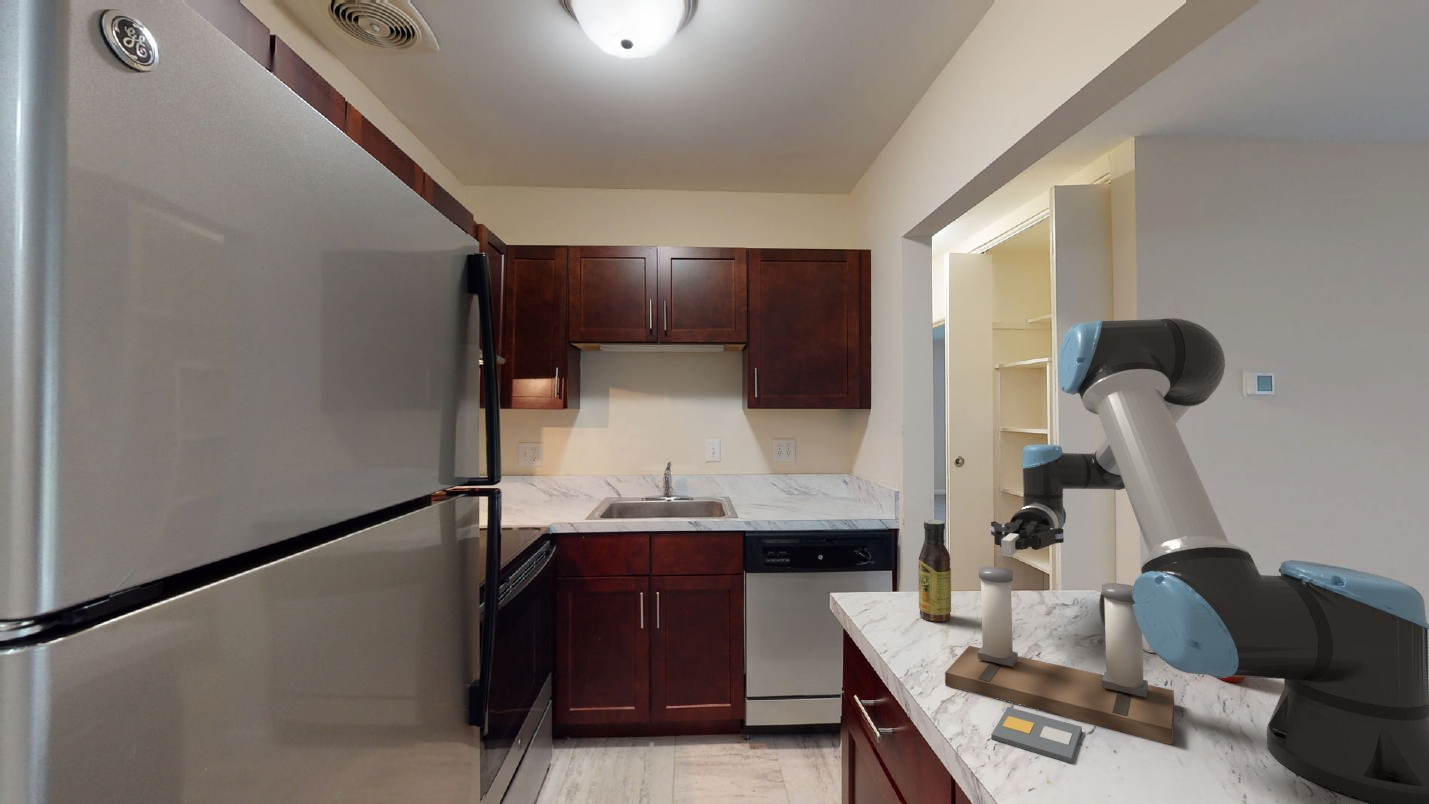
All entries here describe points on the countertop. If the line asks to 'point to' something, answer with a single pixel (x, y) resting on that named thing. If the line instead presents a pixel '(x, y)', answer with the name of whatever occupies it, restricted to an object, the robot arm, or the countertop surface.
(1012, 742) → the card
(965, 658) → the brown wooden board
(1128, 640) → the near slider
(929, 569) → the sauce bottle
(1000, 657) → the far slider
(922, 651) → the countertop surface
